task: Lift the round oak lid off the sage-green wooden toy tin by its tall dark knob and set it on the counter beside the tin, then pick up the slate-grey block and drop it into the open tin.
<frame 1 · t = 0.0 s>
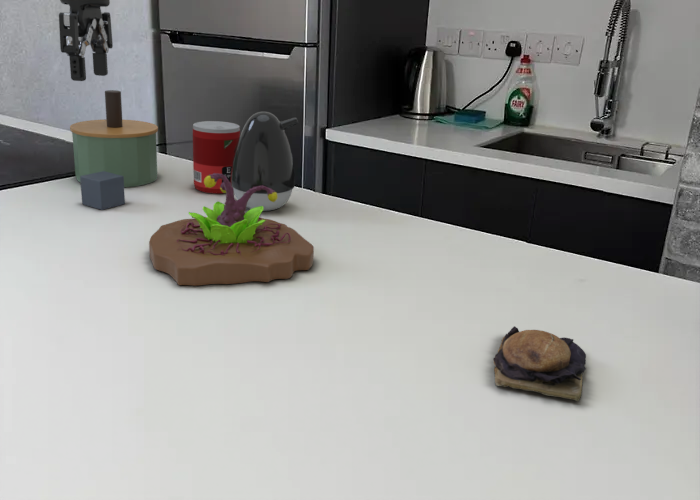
hand: (90, 77, 114), 17 cm above the countertop, tool pointing down, fingers open, 8 cm apart
tin: (117, 177, 121), on the countertop
lid: (114, 129, 118), point 8 cm above the countertop, touching tin
block: (103, 204, 106), on the countertop
plant: (228, 258, 88), on the countertop
toy sandwich: (537, 370, 65), on the countertop
pump dispenser: (263, 207, 110), on the countertop
canned food: (216, 189, 119), on the countertop
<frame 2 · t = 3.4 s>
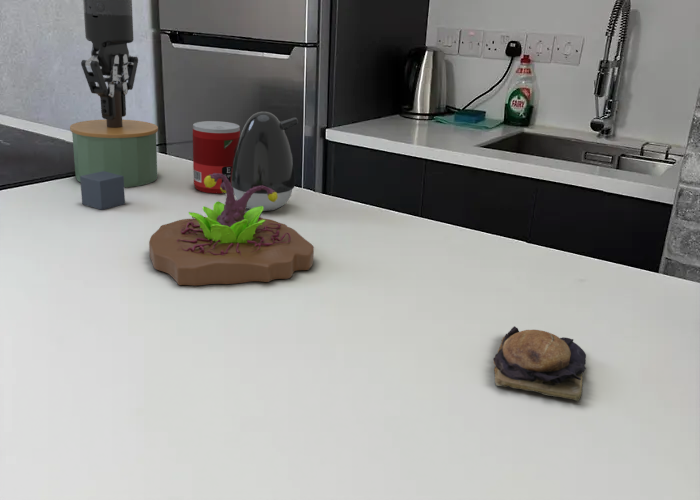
hand: (114, 117, 117), 11 cm above the countertop, tool pointing down, fingers closed on lid, 2 cm apart
lid: (114, 129, 118), point 9 cm above the countertop, touching gripper, tin
everything else where it was.
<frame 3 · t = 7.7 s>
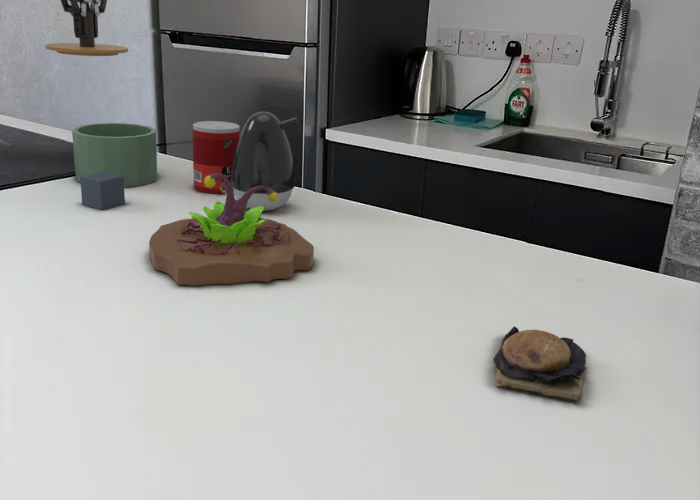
hand: (86, 37, 126), 23 cm above the countertop, tool pointing down, fingers closed on lid, 2 cm apart
lid: (87, 49, 127), point 20 cm above the countertop, touching gripper
everything else where it was.
when the fingers open (3 cm above the countertop, at t = 12.4 s): lid stays where it is, point 1 cm above the countertop.
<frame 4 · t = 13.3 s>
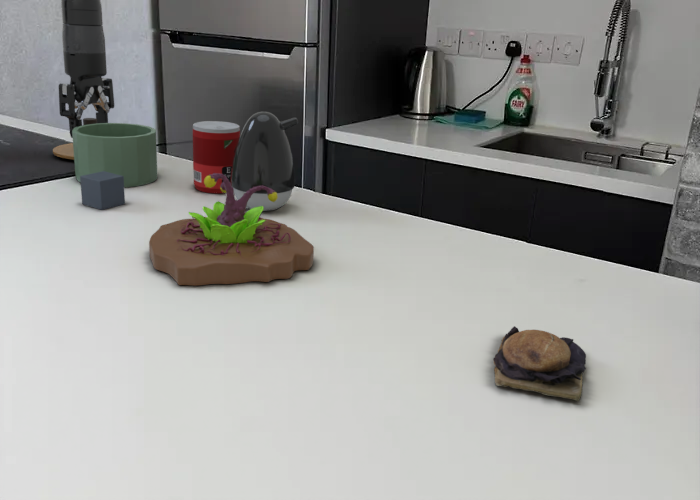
hand: (90, 134, 135), 4 cm above the countertop, tool pointing down, fingers open, 8 cm apart
lid: (92, 152, 136), point 1 cm above the countertop
everything else where it was.
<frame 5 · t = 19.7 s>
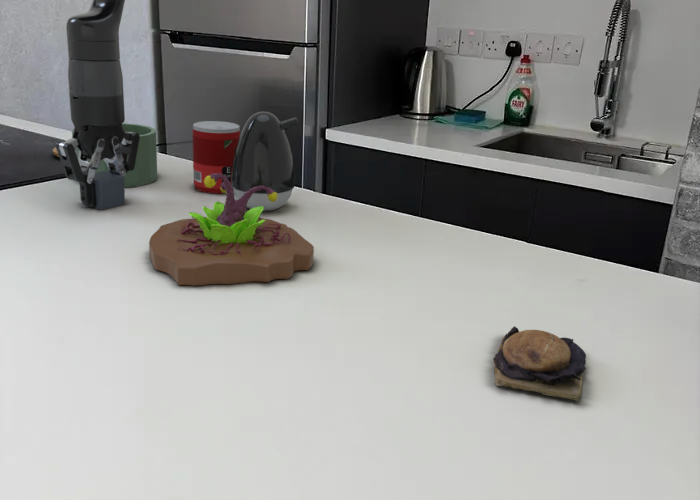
hand: (103, 202, 106), 0 cm above the countertop, tool pointing down, fingers closed on block, 4 cm apart
block: (103, 204, 106), on the countertop, touching gripper
everything else where it was.
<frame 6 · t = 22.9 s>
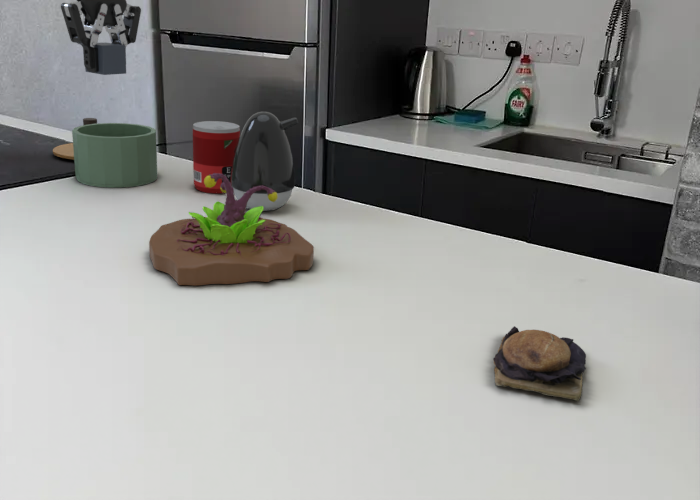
hand: (105, 70, 111), 19 cm above the countertop, tool pointing down, fingers closed on block, 4 cm apart
block: (106, 72, 111), point 19 cm above the countertop, touching gripper
everything else where it was.
when the fingers open (8 cm above the countertop, at t = 26.2 s): block drops 7 cm, resting on tin.
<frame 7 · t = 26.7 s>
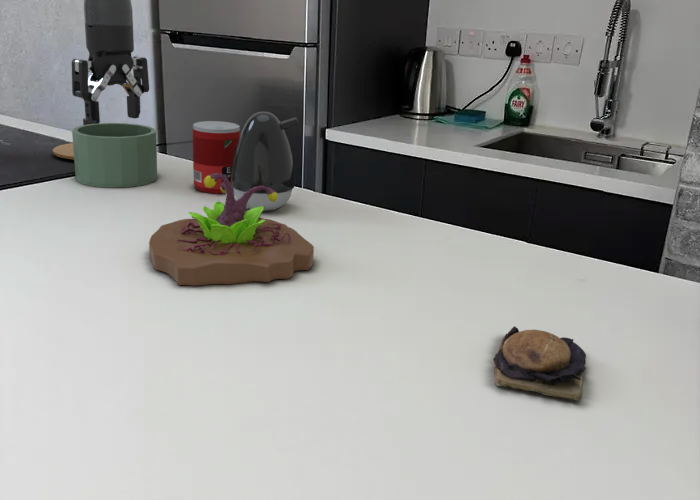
hand: (114, 120, 118), 10 cm above the countertop, tool pointing down, fingers open, 8 cm apart
block: (117, 174, 121), point 1 cm above the countertop, touching tin
everything else where it was.
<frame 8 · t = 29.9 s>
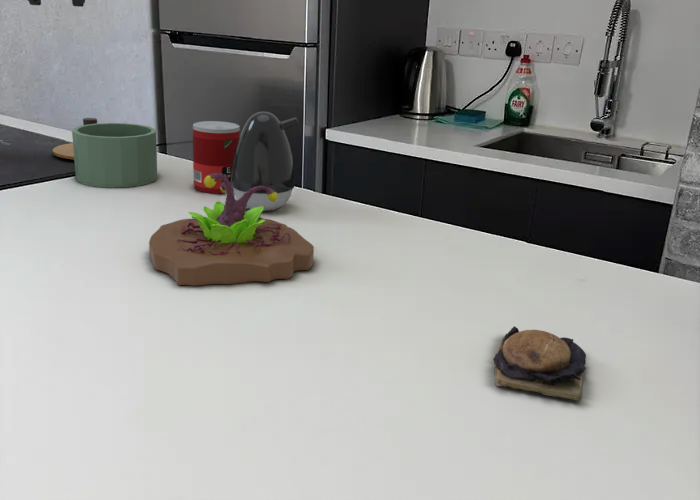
hand: (57, 5, 118), 28 cm above the countertop, tool pointing down, fingers open, 8 cm apart
nothing on the countertop moved.
at the end: lid inside the target area (0.1 cm from its centre), point 0.6 cm above the countertop; lid tilted 0°; block inside the target area in the tin (0.1 cm from its centre), point 0.5 cm above the tin's base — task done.
